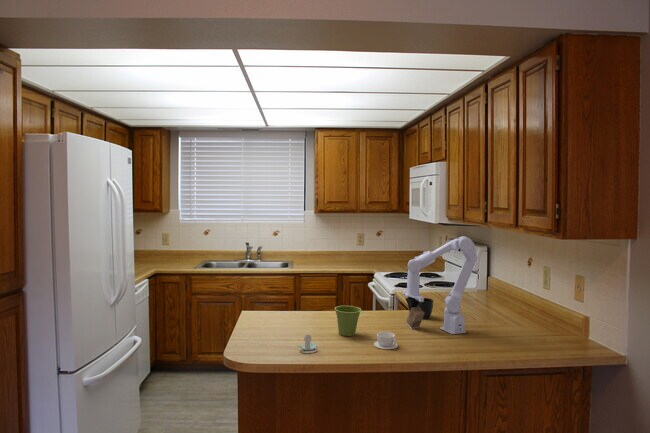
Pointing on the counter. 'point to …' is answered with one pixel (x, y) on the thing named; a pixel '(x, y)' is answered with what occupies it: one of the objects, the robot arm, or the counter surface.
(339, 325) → the plant pot
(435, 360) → the counter surface
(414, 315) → the walnut block
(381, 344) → the teacup
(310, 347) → the pacifier
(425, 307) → the mug
